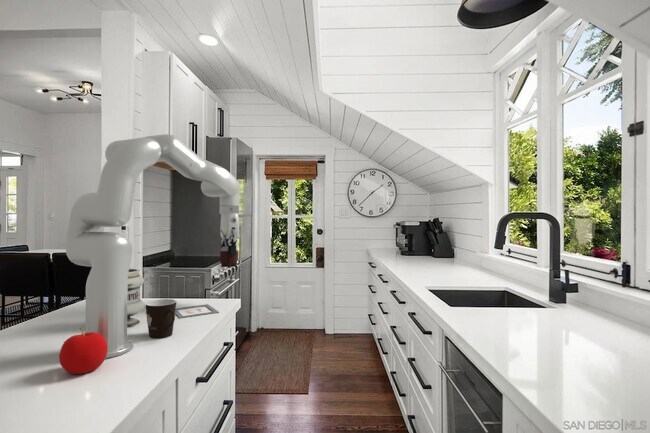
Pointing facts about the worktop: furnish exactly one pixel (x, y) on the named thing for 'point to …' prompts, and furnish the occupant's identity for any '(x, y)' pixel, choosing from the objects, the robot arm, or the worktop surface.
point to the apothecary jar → (134, 296)
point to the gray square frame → (180, 316)
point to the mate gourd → (224, 258)
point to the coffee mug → (160, 317)
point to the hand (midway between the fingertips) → (228, 254)
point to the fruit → (83, 352)
